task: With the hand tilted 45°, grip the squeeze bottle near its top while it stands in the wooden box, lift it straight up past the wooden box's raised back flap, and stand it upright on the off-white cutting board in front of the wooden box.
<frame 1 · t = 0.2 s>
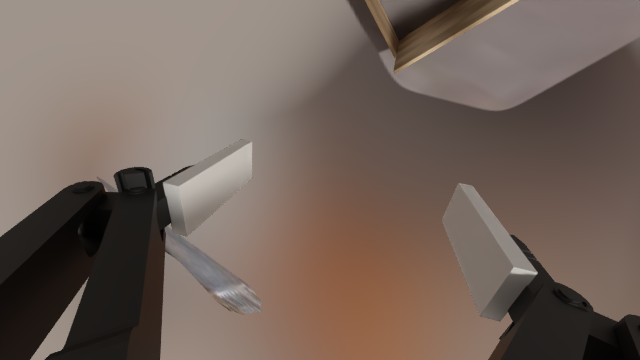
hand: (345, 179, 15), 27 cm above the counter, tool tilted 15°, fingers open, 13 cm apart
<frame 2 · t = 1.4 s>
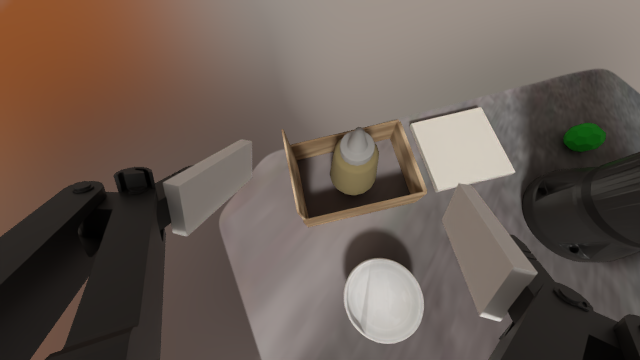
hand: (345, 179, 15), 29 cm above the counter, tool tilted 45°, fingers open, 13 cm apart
cutting board: (457, 149, 46), on the counter
polyhedron: (570, 144, 45), on the counter
wooden box: (351, 179, 45), on the counter
ramekin: (377, 293, 39), on the counter
squeeze bottle: (351, 179, 46), resting in wooden box
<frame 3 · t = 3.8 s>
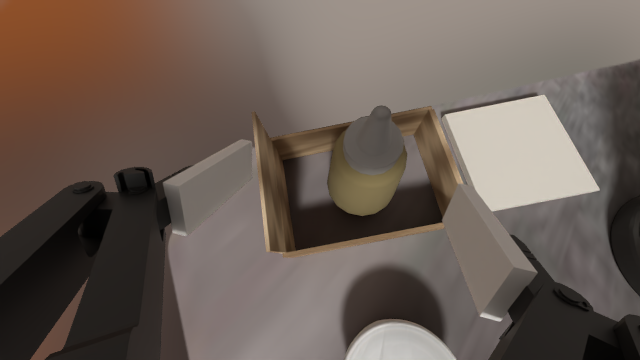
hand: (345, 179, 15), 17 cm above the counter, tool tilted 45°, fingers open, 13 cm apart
cutting board: (510, 153, 32), on the counter
wooden box: (358, 190, 32), on the counter
squeeze bottle: (358, 190, 32), resting in wooden box
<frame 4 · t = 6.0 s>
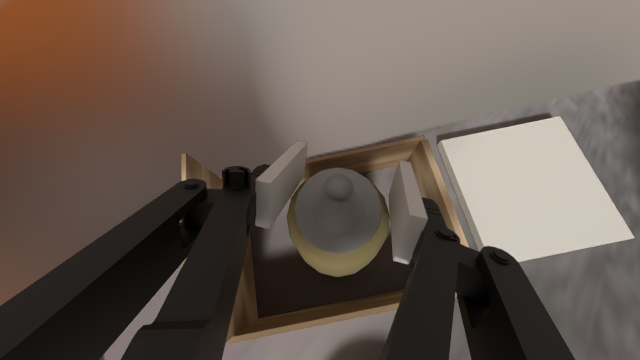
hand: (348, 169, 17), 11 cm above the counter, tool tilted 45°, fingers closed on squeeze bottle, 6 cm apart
cutting board: (520, 188, 27), on the counter
wooden box: (336, 235, 26), on the counter
squeeze bottle: (336, 235, 26), resting in wooden box, touching gripper
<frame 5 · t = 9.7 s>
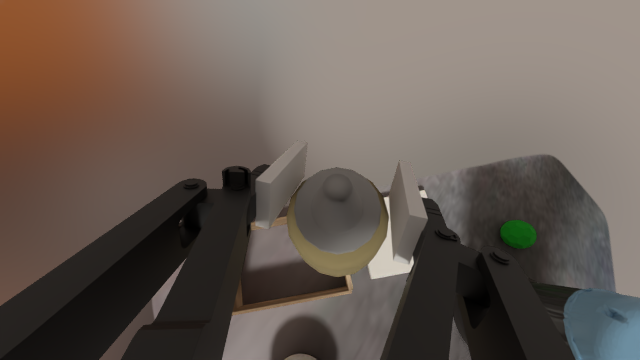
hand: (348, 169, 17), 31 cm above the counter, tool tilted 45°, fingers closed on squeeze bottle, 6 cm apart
cutting board: (397, 232, 46), on the counter
polyhedron: (507, 235, 45), on the counter
wooden box: (289, 258, 45), on the counter
squeeze bottle: (336, 235, 26), point 20 cm above the counter, touching gripper
when the fingers open (13 cm above the counter, at t = 13.7 s): squeeze bottle drops 1 cm, resting on cutting board.
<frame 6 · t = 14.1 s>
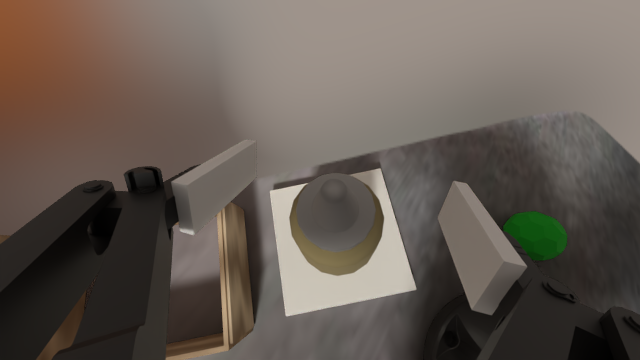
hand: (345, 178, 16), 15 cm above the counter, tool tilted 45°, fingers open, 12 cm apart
cutting board: (337, 237, 29), on the counter
polyhedron: (515, 237, 28), on the counter
wooden box: (164, 281, 28), on the counter
squeeze bottle: (337, 236, 28), point 1 cm above the counter, touching cutting board
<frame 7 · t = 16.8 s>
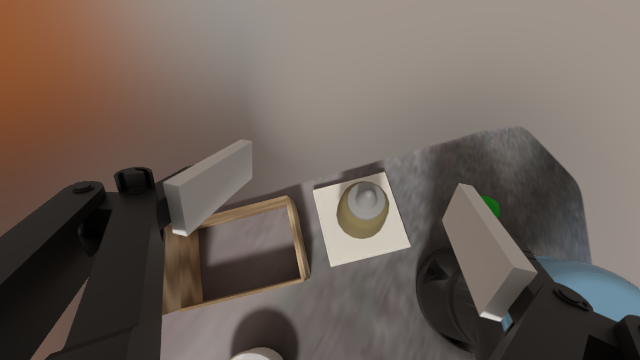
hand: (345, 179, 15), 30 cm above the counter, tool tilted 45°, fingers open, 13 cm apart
cutting board: (358, 218, 44), on the counter
polyhedron: (473, 212, 43), on the counter
wooden box: (249, 251, 44), on the counter
squeeze bottle: (359, 217, 43), point 1 cm above the counter, touching cutting board
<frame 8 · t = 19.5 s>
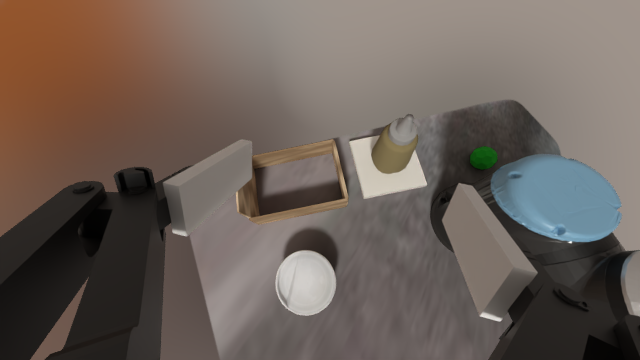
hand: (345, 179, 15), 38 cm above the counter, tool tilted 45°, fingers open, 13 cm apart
cutting board: (385, 164, 56), on the counter
polyhedron: (476, 162, 54), on the counter
wooden box: (297, 186, 55), on the counter
ramekin: (308, 279, 49), on the counter
squeeze bottle: (386, 162, 55), point 1 cm above the counter, touching cutting board
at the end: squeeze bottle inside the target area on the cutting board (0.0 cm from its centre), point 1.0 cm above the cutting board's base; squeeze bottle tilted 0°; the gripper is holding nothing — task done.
